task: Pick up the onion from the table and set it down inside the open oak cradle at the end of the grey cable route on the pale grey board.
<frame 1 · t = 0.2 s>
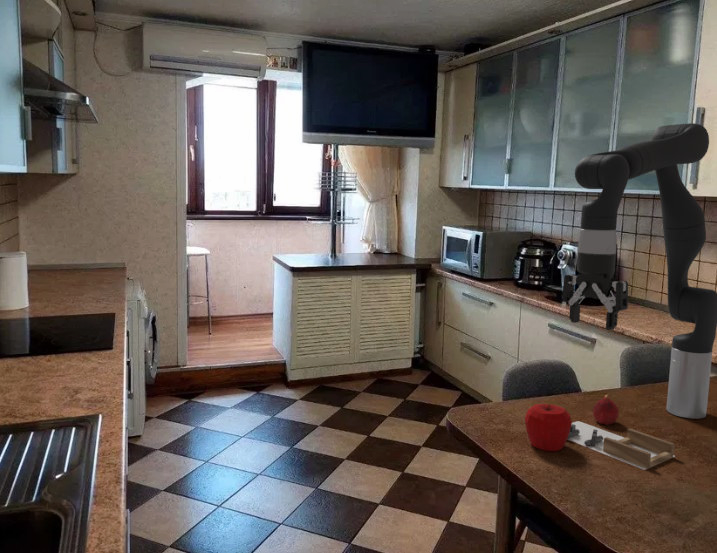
hand: (592, 325, 131), 28 cm above the table, fingers open, 8 cm apart
apple: (546, 451, 135), on the table
onion: (604, 427, 149), on the table
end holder: (637, 454, 131), resting on route board
route board: (607, 448, 136), on the table
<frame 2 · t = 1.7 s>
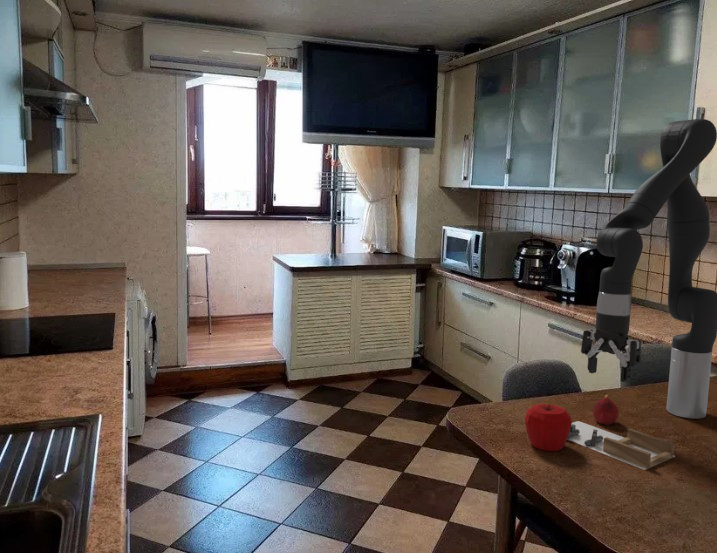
hand: (607, 377, 147), 13 cm above the table, fingers open, 8 cm apart
nothing on the table moved.
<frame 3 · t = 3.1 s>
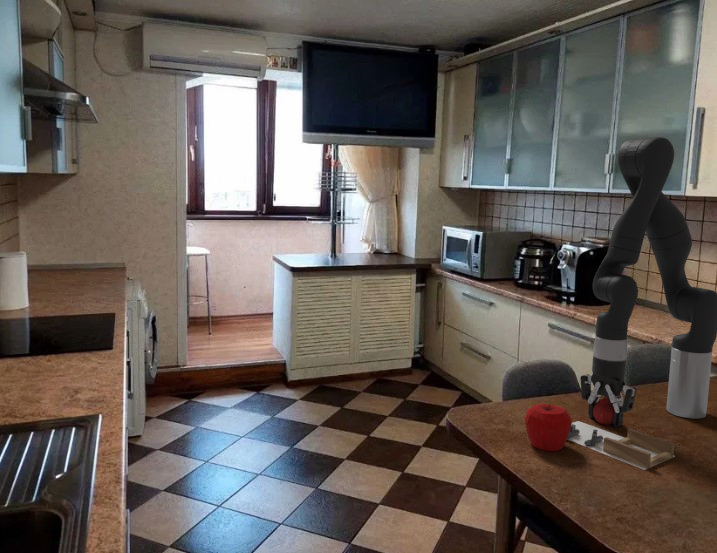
hand: (604, 421, 149), 1 cm above the table, fingers closed on onion, 6 cm apart
onion: (604, 427, 149), on the table, touching gripper
everything else where it was.
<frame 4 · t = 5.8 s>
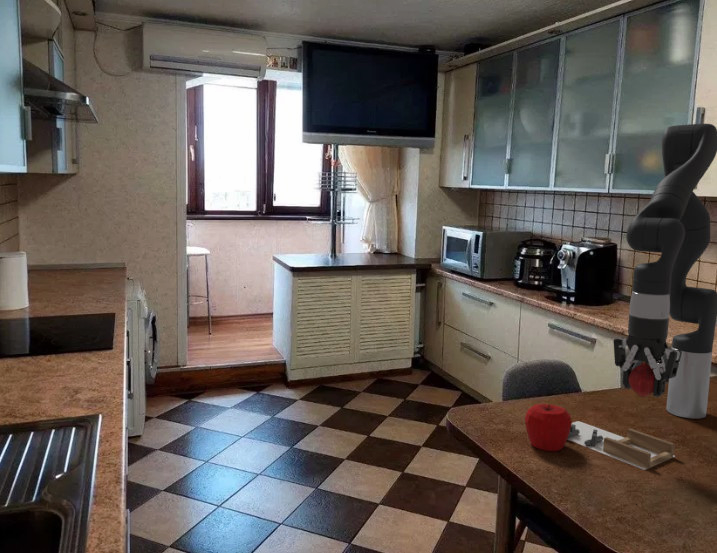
hand: (642, 391, 129), 15 cm above the table, fingers closed on onion, 6 cm apart
onion: (642, 398, 129), point 14 cm above the table, touching gripper
everything else where it was.
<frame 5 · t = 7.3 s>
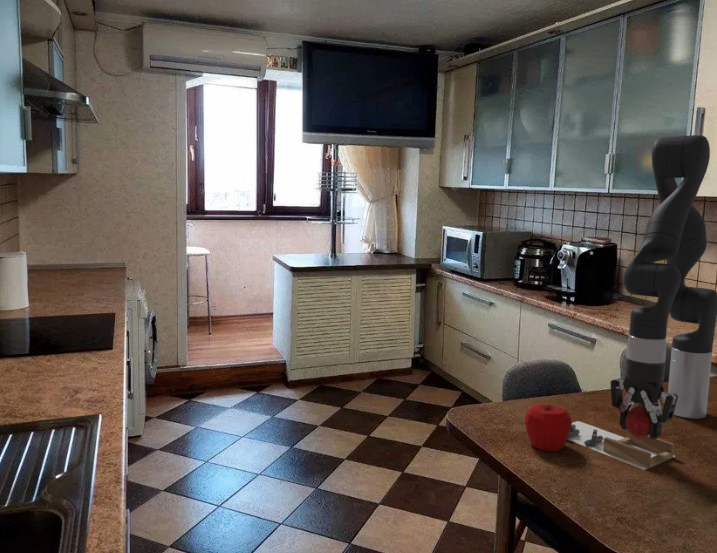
hand: (639, 433, 130), 6 cm above the table, fingers closed on onion, 6 cm apart
onion: (638, 439, 130), point 4 cm above the table, touching gripper
everything else where it was.
when the fingers open (4 cm above the table, at t = 8.6 s): onion drops 2 cm, resting on route board.
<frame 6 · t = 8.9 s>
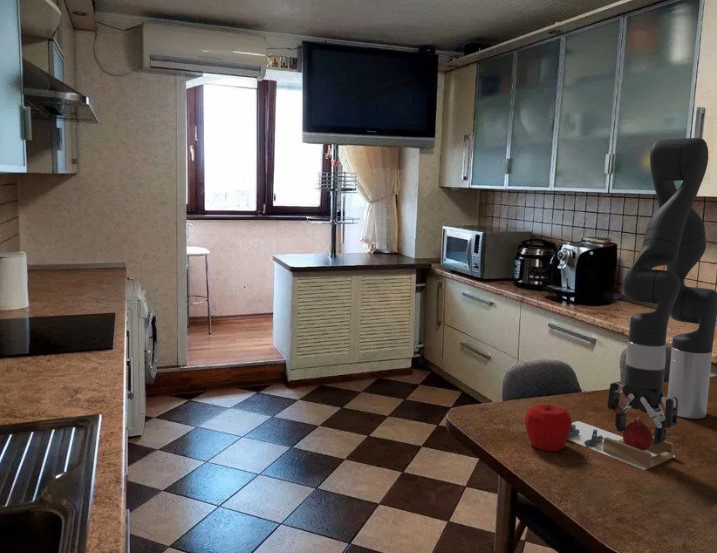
hand: (639, 436, 130), 5 cm above the table, fingers open, 8 cm apart
onion: (636, 454, 131), point 1 cm above the table, touching route board
everything else where it was.
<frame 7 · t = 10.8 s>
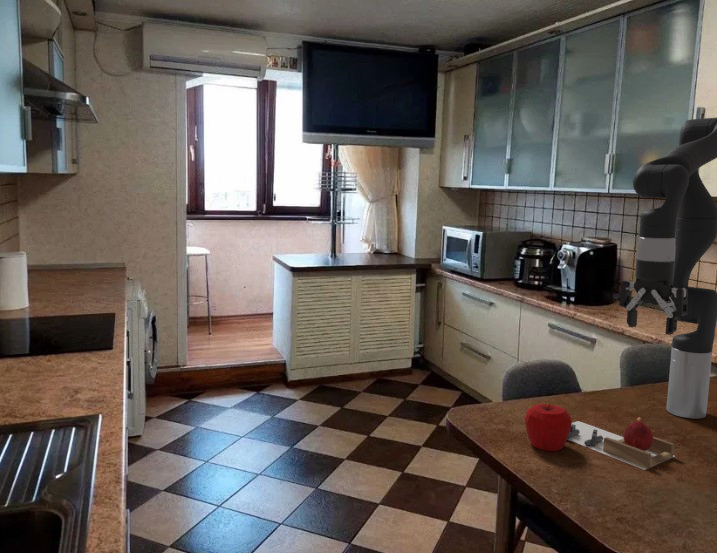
hand: (650, 330, 135), 27 cm above the table, fingers open, 8 cm apart
nothing on the table moved.
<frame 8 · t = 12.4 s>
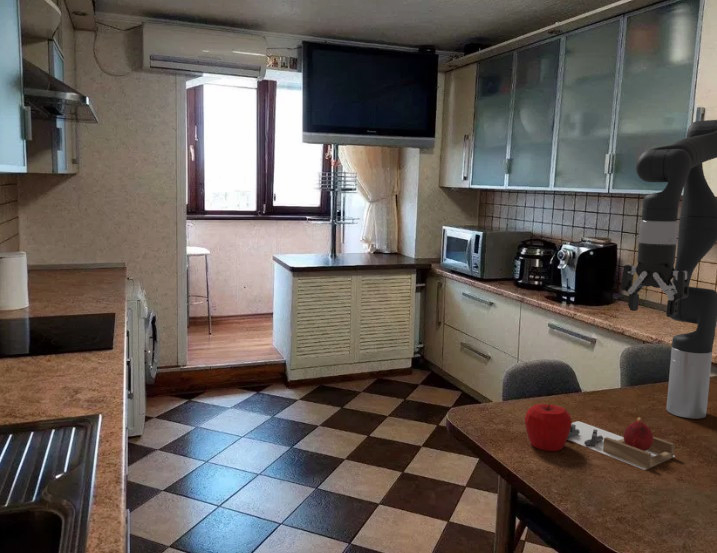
hand: (651, 313, 136), 30 cm above the table, fingers open, 8 cm apart
nothing on the table moved.
at the end: onion inside the target area (0.2 cm from its centre), point 1.0 cm above the table; the gripper is holding nothing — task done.
